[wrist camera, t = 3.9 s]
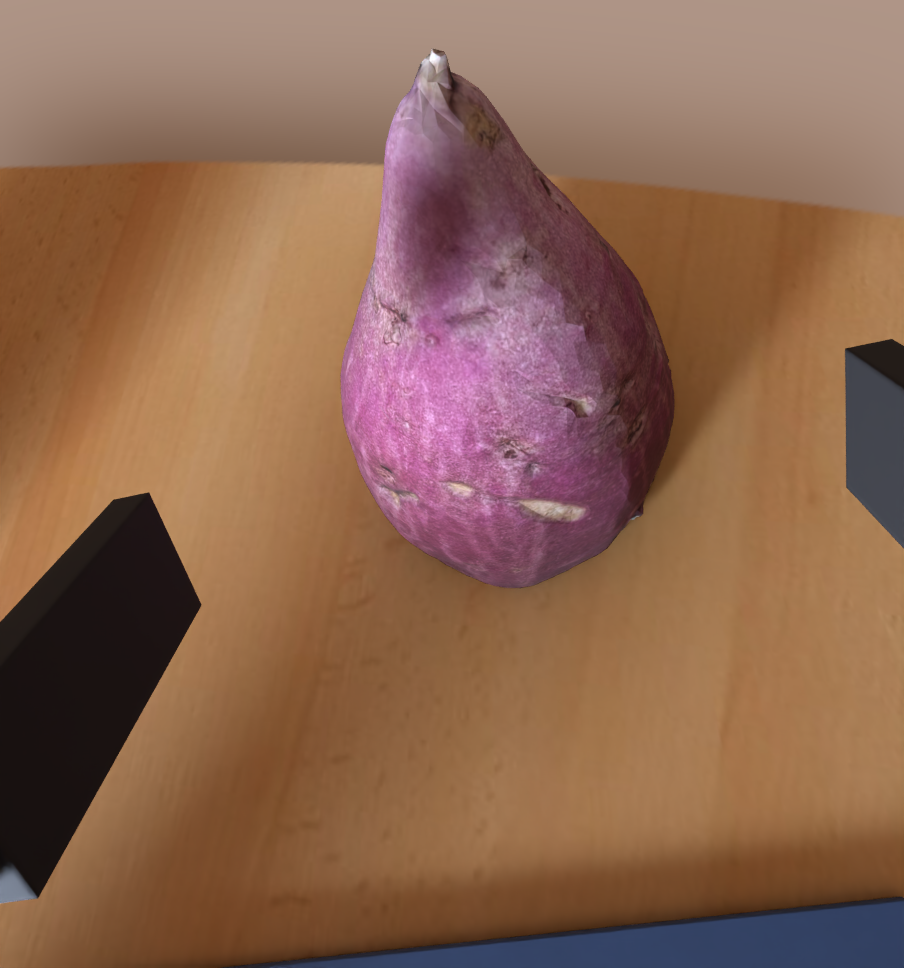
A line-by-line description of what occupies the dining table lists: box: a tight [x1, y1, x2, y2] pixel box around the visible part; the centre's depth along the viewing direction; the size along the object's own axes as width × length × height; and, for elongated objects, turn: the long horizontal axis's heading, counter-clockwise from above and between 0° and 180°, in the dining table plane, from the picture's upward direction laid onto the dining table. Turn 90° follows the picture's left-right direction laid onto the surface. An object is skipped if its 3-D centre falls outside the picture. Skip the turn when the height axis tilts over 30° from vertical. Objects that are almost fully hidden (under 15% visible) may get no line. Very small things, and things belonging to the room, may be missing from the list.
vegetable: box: [341, 49, 674, 588], centre depth 21 cm, size 10×10×15 cm
